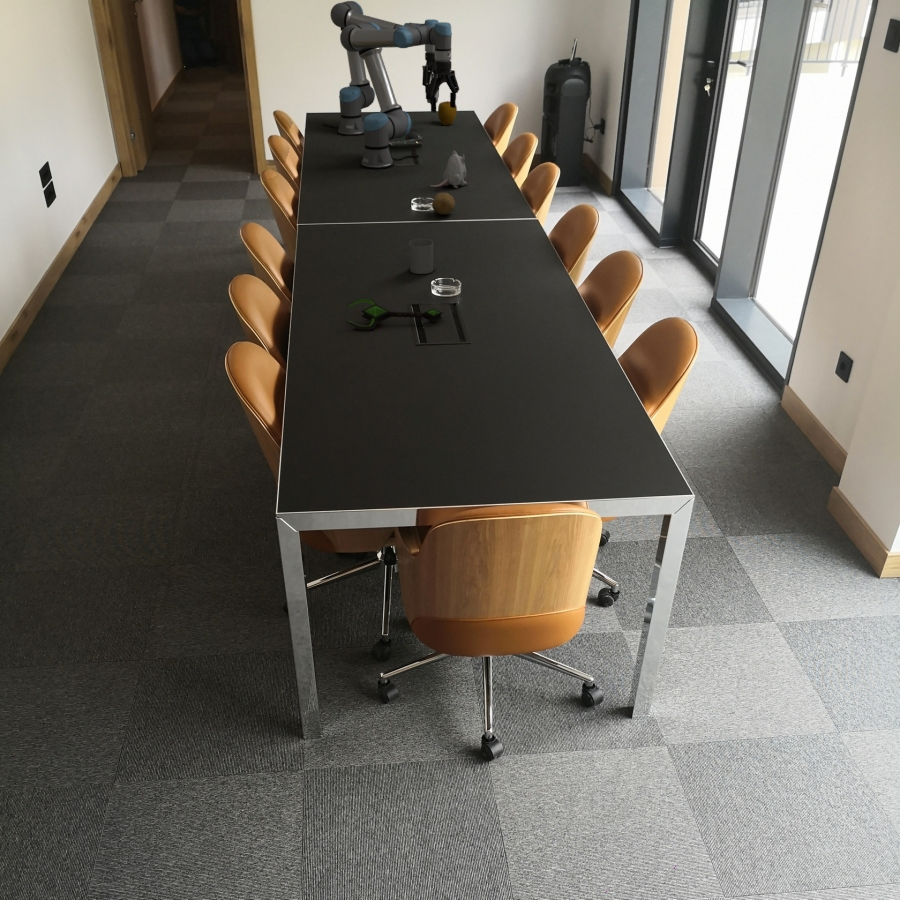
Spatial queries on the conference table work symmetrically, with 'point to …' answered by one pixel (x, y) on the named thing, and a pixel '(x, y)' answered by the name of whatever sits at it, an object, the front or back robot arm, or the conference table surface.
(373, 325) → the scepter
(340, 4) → the back robot arm
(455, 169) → the toy
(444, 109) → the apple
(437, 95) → the camera lens
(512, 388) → the conference table surface
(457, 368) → the conference table surface
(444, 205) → the potato
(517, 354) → the conference table surface
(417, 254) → the cup
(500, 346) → the conference table surface
